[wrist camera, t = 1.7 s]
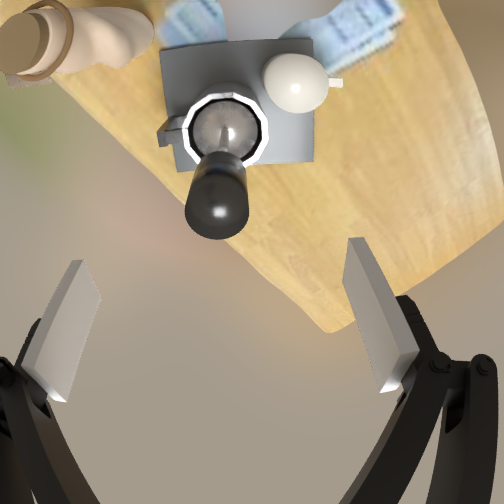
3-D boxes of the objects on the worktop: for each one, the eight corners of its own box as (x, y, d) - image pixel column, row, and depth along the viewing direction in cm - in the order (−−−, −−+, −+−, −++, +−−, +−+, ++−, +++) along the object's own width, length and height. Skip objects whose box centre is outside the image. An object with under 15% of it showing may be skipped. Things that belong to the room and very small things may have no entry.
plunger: (190, 104, 32) (146, 165, 17) (255, 98, 32) (274, 151, 17) (198, 162, 37) (171, 263, 22) (258, 156, 37) (277, 255, 22)
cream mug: (259, 53, 38) (264, 54, 31) (327, 53, 38) (347, 56, 31) (262, 102, 42) (268, 114, 35) (328, 100, 42) (346, 113, 35)
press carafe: (169, 89, 40) (149, 103, 31) (258, 79, 40) (265, 89, 31) (178, 147, 46) (163, 178, 37) (261, 139, 46) (269, 168, 37)
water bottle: (123, 82, 40) (14, 136, 17) (87, 49, 35) (-42, 79, 13) (170, 34, 36) (88, 24, 14) (131, 0, 31) (20, -29, 9)
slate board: (160, 51, 37) (159, 51, 37) (311, 39, 37) (312, 39, 37) (178, 170, 49) (177, 172, 49) (312, 159, 49) (313, 161, 49)
